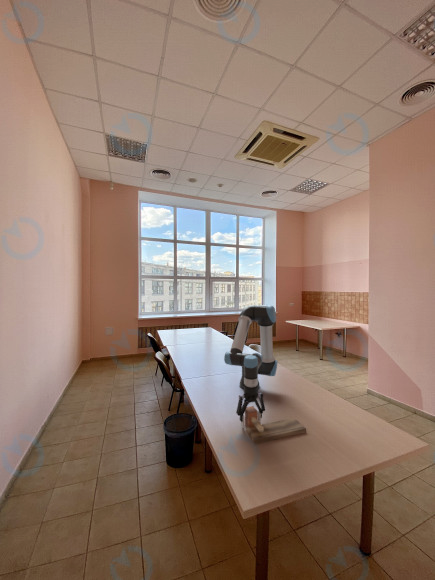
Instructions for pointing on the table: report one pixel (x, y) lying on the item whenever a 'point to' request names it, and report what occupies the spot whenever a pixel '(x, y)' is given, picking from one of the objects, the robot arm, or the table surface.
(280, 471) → the table surface
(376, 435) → the table surface
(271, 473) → the table surface
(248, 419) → the mallet
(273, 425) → the board
